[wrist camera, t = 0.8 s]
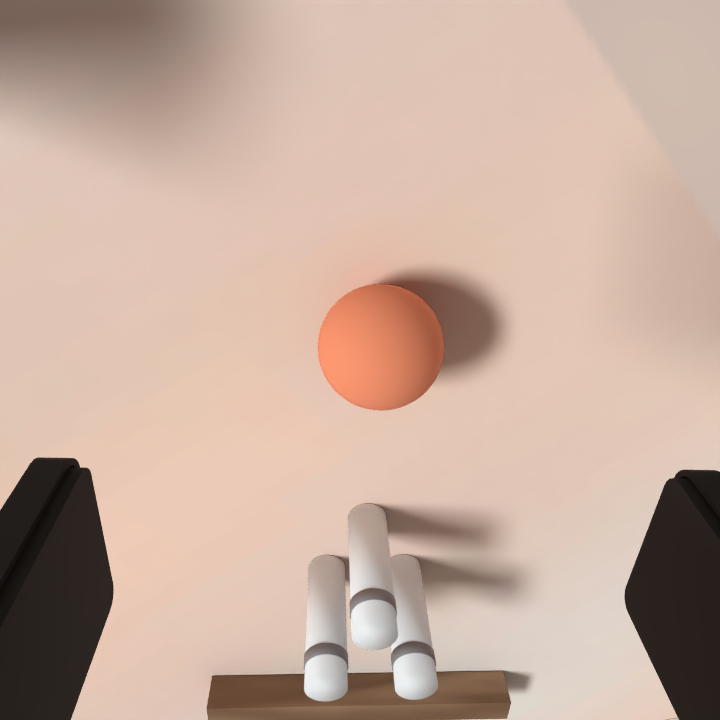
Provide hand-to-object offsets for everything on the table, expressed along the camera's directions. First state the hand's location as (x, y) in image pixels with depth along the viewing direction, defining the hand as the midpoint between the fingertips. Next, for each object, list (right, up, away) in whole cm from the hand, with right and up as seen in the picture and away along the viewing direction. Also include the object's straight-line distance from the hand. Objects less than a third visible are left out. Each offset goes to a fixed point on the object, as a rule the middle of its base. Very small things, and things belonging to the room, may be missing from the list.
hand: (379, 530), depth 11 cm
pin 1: (-3, -11, +32) cm, 34 cm away
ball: (+1, +3, +20) cm, 20 cm away
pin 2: (+2, -11, +32) cm, 34 cm away
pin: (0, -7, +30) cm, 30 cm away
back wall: (0, -22, +38) cm, 44 cm away
